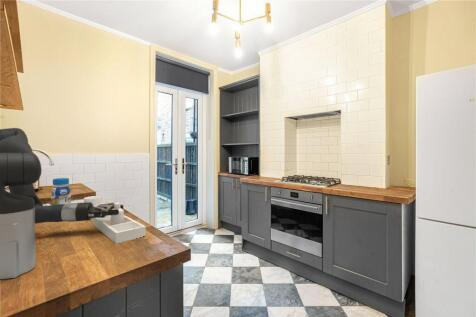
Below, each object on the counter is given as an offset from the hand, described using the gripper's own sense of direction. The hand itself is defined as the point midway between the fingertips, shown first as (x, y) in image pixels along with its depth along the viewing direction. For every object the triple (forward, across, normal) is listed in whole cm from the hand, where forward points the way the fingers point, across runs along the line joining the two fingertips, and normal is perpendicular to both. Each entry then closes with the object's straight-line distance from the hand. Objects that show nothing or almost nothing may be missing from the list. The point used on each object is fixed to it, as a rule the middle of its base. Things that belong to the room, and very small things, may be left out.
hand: (121, 209), depth 98 cm
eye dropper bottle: (-2, 0, +8) cm, 8 cm away
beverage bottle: (-35, +32, +9) cm, 49 cm away
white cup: (-19, +28, +9) cm, 35 cm away
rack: (-1, 0, +9) cm, 9 cm away
